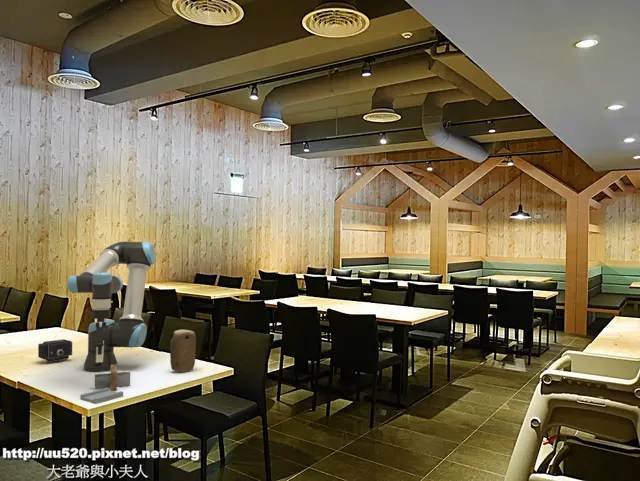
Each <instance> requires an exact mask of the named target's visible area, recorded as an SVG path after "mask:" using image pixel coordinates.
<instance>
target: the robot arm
mask: <svg viewBox="0 0 640 481" xmlns="http://www.w3.org/2000/svg"><path fill="white" fill-rule="evenodd" d="M155 262H156V250H155V246H154V245H153V243H152V242H149V241H148V242H147V241H119V242H115V243H112V244H111V245H108V246H107V247H106V248H104V249H103V250H102V251H101V252H100V254H99V257H97V259H95V260H94V261H93V262H92V263H91V264H90V265H89V266H88V267H87V268H86V269H85V270H84V271H83V272H81V273H80V274H79V275H70V276H69V278H68V279H67V282H66V284H67V285H66V286H67V290H68V291H69V292H70V293H77V294H80V293H81V294H87V293H89V294H91V295H92V296H91V309H92V310H91V318H92V319H93V320H97V321H95V322H92V323H90V324H89V326H88V332H87V336H88V337H87V355H86V358H85V361H84V363H83V371H85V372H92V373H93V372H94V373H95V372H97V373H99V372H109V371H111V365H116V364H117V365H118V361H117V358H116V355H115V352H114V348H131V349H132V348H139V347H141V346H142V345H143V344H144V342H145V340H146V337H147V332H148V330H147V329H148V327H147V325H146V323H145V322H144V319H143V318H142V311H143V306H144V297H145V296H144V295H145V287H146V280H147V272H148V271H149V270H150V269H151V266H153V265H155ZM117 265H126V267H127V269H128V276H127V284H126V291H125V298H124V306H123V313H122V316H121V317H120V318H119V319H118V323H116V322H115V320H114V319H110V318H111V315H112V310H111V308H112V304H113V300H112V294H117V293H118V292H119V291H120V292H121V290H122V289H123V288H124V287H123V286H124V283H123V279H122V277H121V278H120V276H116V275H113V274H112V273H111V272H108V271H109V270H110V269H111V268H112V267H115V266H117Z"/></svg>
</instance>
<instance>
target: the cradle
mask: <svg viewBox="0 0 640 481" xmlns="http://www.w3.org/2000/svg"><path fill="white" fill-rule="evenodd" d="M79 396H80V398H79V399H80V400H82V401H84V402H89V403H92V404H96V405H97V404H101V403H104V402H108V401H110V400H111V401H112V400H115V399H119V398H122V397H124V391H121V390H120V391H111V390H110V388H104V389H97V390H93V391H89V392H85V393H82V394H80V395H79Z"/></svg>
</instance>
